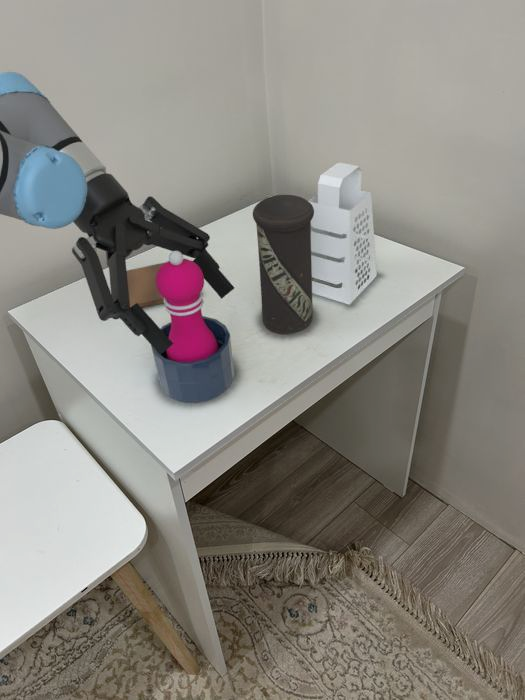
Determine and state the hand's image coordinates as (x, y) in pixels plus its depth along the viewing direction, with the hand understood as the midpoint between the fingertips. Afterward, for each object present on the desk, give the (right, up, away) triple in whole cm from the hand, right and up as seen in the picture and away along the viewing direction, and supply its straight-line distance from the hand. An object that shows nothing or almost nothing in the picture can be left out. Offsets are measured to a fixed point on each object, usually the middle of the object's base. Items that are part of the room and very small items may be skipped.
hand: (199, 319), depth 71 cm
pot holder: (-11, +8, +28) cm, 31 cm away
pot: (-1, -8, +8) cm, 11 cm away
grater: (+21, +8, +25) cm, 34 cm away
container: (+12, +1, +18) cm, 21 cm away
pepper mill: (-1, -8, +8) cm, 11 cm away
